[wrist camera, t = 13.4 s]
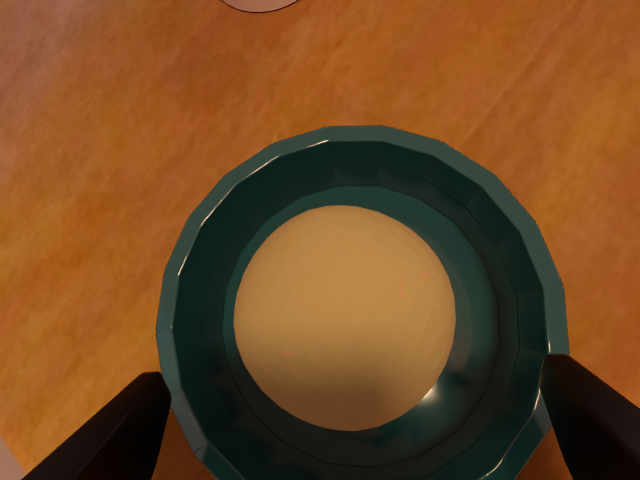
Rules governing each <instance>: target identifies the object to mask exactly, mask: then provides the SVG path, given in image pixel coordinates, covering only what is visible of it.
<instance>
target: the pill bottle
mask: <svg viewBox="0 0 640 480" xmlns="http://www.w3.org/2000/svg"><path fill="white" fill-rule="evenodd" d="M223 1H224V2H225V3H227V4H228V5H230V6H232V7H234V8H237V9H240V10H244V11H249V12H264V11H272V10H275V9H279V8H282V7H285V6H287V5H289V4H291V3H293V2H295V1H297V0H223Z"/></svg>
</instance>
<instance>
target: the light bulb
mask: <svg viewBox="0 0 640 480" xmlns="http://www.w3.org/2000/svg"><path fill="white" fill-rule="evenodd" d="M455 323H456V315H455V299H454V294H453V290H452V287H451V284H450V280H449V277H448V275H447V273H446V271H445V269H444V267H443V266H442V264H441V262H440V260H439V258H438V257H437V255H436V254H435V253H434V251H433V250H432V249H431V248H430V246H429V245H428V244H427V243H426V242H425V241H424V240H423V239H422V238H421V237H419V236H418V235H417V234H416V233H415V232H414V231H412V230H411V229H409V228H408V227H407V226H405V225H404V224H402V223H400V222H399V221H397V220H395V219H393V218H391V217H389V216H386V215H384V214H382V213H380V212H377V211H374V210H370V209H366V208H362V207H358V206H347V205H336V206H324V207H319V208H315V209H311V210H307V211H305V212H303V213H301V214H299V215H297V216H295V217H293V218H291V219H290V220H288V221H287V222H285V223H284V224H283V225H281V226H280V227H278V228H277V229H276V230H275V231H274V232H273V233H272V234H271V235H270V236H269V237H268V238H267V239H266V240H265V241H264V242H263V244H262V245H261V246H260V248H259V249H258V250H257V251H256V253H255V254H254V255H253V257H252V259H251V261H250V263H249V265H248V266H247V268H246V270H245V272H244V274H243V277H242V280H241V283H240V286H239V289H238V292H237V296H236V302H235V308H234V331H235V338H236V344H237V347H238V350H239V352H240V355H241V357H242V360H243V363H244V365H245V367H246V368H247V370H248V371H249V373H250V375H251V376H252V378H253V379H254V381H255V382H256V383H257V384H258V386H259V387H260V388H261V390H262V391H263V392H264V393H265V394H266V395H267V396H268V397H270V398H271V399H272V400H273V401H274V402H275V403H276V404H277V405H278V406H280V407H281V408H282V409H284V410H286V411H287V412H289V413H290V414H292V415H294V416H295V417H297V418H299V419H301V420H303V421H306V422H308V423H311V424H314V425H317V426H320V427H323V428H328V429H334V430H344V431H359V430H364V429H369V428H375V427H379V426H381V425H383V424H385V423H388V422H390V421H392V420H394V419H396V418H398V417H400V416H402V415H403V414H404V413H406V412H407V411H409V410H410V409H412V408H413V407H414V406H415V405H416V404H418V403H419V402H420V401H421V400H422V398H423V397H424V396H425V395H426V394H427V393H428V392H429V390H430V389H431V388H432V387H433V386H434V384H435V383H436V381H437V379H438V377H439V376H440V374H441V372H442V370H443V369H444V367H445V365H446V362H447V359H448V356H449V353H450V350H451V347H452V344H453V339H454V331H455Z"/></svg>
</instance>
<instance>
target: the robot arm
mask: <svg viewBox="0 0 640 480" xmlns="http://www.w3.org/2000/svg"><path fill="white" fill-rule="evenodd" d="M539 387H540V391H541V394H542V397H543V400H544V403H545V405H546V408H547V411H548V414H549V417H550V420H551V423H552V426H553V429H554V432H555V435H556V438H557V441H558V444H559V447H560V449H561V452H562V455H563V457H564V460H565V462H566V465H567V467H568V469H569V472H570V474H571V476H572V478H573V480H640V408H638V407H637V406H636V405H634V404H633V403H632V402H630V401H629V400H628V399H626V398H625V397H624V396H622V395H621V394H620V393H618V392H617V391H616V390H614V389H613V388H612V387H610V386H609V385H608V384H606V383H605V382H604V381H602V380H601V379H600V378H598V377H597V376H596V375H594V374H593V373H592V372H590V371H589V370H588V369H586V368H585V367H584V366H582V365H581V364H580V363H578V362H577V361H576V360H574V359H573V358H572V357H570V356H569V355H566V354H547V355H546V356H545V357H544V359H543V363H542V367H541V371H540V375H539ZM171 400H172V396H171V392H170V389H169V387H168V385H167V383H166V382H165V380H164V378H163V376H162V374H161V373H160V372H144V373H142V374H140V375H139V376H138V377H137V378H136V379H134V380H133V381H132V382H131V383H130V384H129V385H128V386H127V387H125V388H124V389H123V390H122V391H121V392H120V393H119V394H117V395H116V396H115V397H114V398H113V399H112V400H111V401H110V402H108V403H107V404H106V405H105V406H104V407H103V408H102V409H101V410H99V411H98V412H97V413H96V414H95V415H94V416H93V417H91V418H90V419H89V420H88V421H87V422H86V423H85V424H84V425H82V426H81V427H80V428H79V429H78V430H77V431H76V432H75V433H73V434H72V435H71V436H70V437H69V438H68V439H67V440H65V441H64V442H63V443H62V444H61V445H60V446H59V447H58V448H56V449H55V450H54V451H53V452H52V453H51V454H50V455H49V456H47V457H46V458H45V459H44V460H43V461H42V462H41V463H40V464H38V465H37V466H36V467H35V468H34V469H33V470H32V471H30V472H29V473H28V474H27V475H26V476H25V477H24V478H23V479H21V480H151V479H152V476H153V473H154V469H155V466H156V463H157V459H158V455H159V451H160V447H161V443H162V439H163V435H164V430H165V426H166V422H167V418H168V414H169V410H170V405H171Z"/></svg>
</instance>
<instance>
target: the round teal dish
mask: <svg viewBox="0 0 640 480" xmlns="http://www.w3.org/2000/svg"><path fill="white" fill-rule="evenodd" d="M336 205H347V206H358V207H362V208H366V209H370V210H374V211H377V212H380V213H382V214H384V215H386V216H389V217H391V218H393V219H395V220H397V221H399V222H400V223H402V224H404V225H405V226H407V227H408V228H409V229H411V230H412V231H414V232H415V233H416V234H417V235H418V236H419V237H421V238H422V239H423V240H424V241H425V242H426V243H427V244H428V245H429V246H430V248H431V249H432V250H433V251H434V253H435V254H436V255H437V257H438V258H439V260H440V262H441V264H442V266H443V267H444V269H445V271H446V273H447V275H448V277H449V280H450V284H451V287H452V290H453V294H454V299H455V315H456V323H455V331H454V339H453V344H452V347H451V350H450V353H449V356H448V359H447V362H446V365H445V367H444V369H443V370H442V372H441V374H440V376H439V377H438V379H437V381H436V383H435V384H434V386H433V387H432V388H431V389H430V390H429V392H428V393H427V394H426V395H425V396H424V397H423V398H422V400H421V401H420V402H419V403H418V404H416V405H415V406H414V407H413V408H412V409H410V410H409V411H407V412H406V413H404V414H403V415H402V416H400V417H398V418H396V419H394V420H392V421H390V422H388V423H385V424H383V425H381V426H379V427H375V428H369V429H364V430H359V431H344V430H334V429H328V428H323V427H320V426H317V425H314V424H311V423H308V422H306V421H303V420H301V419H299V418H297V417H295V416H294V415H292V414H290V413H289V412H287V411H286V410H284V409H282V408H281V407H280V406H278V405H277V404H276V403H275V402H274V401H273V400H272V399H271V398H270V397H268V396H267V395H266V394H265V393H264V392H263V391H262V390H261V388H260V387H259V386H258V384H257V383H256V382H255V381H254V379H253V378H252V376H251V375H250V373H249V371H248V370H247V368H246V367H245V365H244V363H243V360H242V357H241V355H240V352H239V350H238V347H237V344H236V338H235V331H234V308H235V302H236V296H237V292H238V289H239V286H240V283H241V280H242V277H243V274H244V272H245V270H246V268H247V266H248V265H249V263H250V261H251V259H252V257H253V255H254V254H255V253H256V251H257V250H258V249H259V248H260V246H261V245H262V244H263V242H264V241H265V240H266V239H267V238H268V237H269V236H270V235H271V234H272V233H273V232H274V231H275V230H276V229H277V228H278V227H280V226H281V225H283V224H284V223H285V222H287V221H288V220H290V219H291V218H293V217H295V216H297V215H299V214H301V213H303V212H305V211H307V210H311V209H315V208H319V207H324V206H336ZM164 271H165V272H164V275H163V282H162V289H161V296H160V303H159V310H158V317H157V324H156V331H157V332H156V340H157V347H158V353H159V360H160V367H161V373H162V376H163V378H164V380H165V382H166V383H167V385H168V387H169V389H170V392H171V396H172V400H171V405H170V407H171V409H172V411H173V413H174V415H175V417H176V419H177V421H178V423H179V425H180V427H181V430H182V432H183V434H184V436H185V438H186V440H187V442H188V444H189V446H190V448H191V450H192V452H193V453H195V454H194V455H195V457H196V458H197V459H198V460H199V461H200V462H201V463H202V464H203V465H204V466H205V467H206V468H207V469H208V470H209V471H210V472H211V474H212V475H213V476H214V477H215V478H216V479H217V480H516V478H517V477H518V475H519V474H520V472H521V471H522V469H523V468H524V467H525V465H526V464H527V462H528V461H529V459H530V458H531V456H532V455H533V454H534V452H535V451H536V449H537V448H538V446H539V445H540V443H541V442H542V441H543V439H544V438H545V436H546V435H547V433H548V432H549V430H550V429H551V427H550V426H552V423H551V420H550V417H549V414H548V411H547V408H546V405H545V403H544V400H543V397H542V394H541V391H540V387H539V375H540V371H541V367H542V363H543V359H544V357H545V356H546V355H547V354H566V355H569V354H570V352H569V340H568V329H567V317H566V306H565V294H564V287H563V283H562V280H561V278H560V276H559V273H558V271H557V269H556V266H555V264H554V262H553V259H552V257H551V255H550V252H549V250H548V248H547V246H546V243H545V241H544V239H543V236H542V234H541V232H540V229H539V227H538V225H537V224H536V221H535V220H534V219H533V218H532V217H531V215H530V214H529V213H528V212H527V211H526V210H525V208H524V207H523V206H522V205H521V204H520V203H519V202H518V200H517V199H516V198H515V197H514V196H513V195H512V193H511V192H510V191H509V190H508V189H507V188H506V187H505V185H504V184H503V183H502V182H501V181H500V180H499V178H498V177H497V176H496V175H494V174H493V173H492V172H491V171H489V170H487V169H486V168H484V167H483V166H481V165H479V164H478V163H476V162H475V161H473V160H471V159H470V158H468V157H467V156H465V155H463V154H462V153H460V152H459V151H457V150H455V149H454V148H452V147H451V146H449V145H447V144H446V143H444V142H441V141H439V140H436V139H432V138H428V137H425V136H421V135H417V134H414V133H410V132H407V131H403V130H399V129H396V128H392V127H388V126H383V125H370V126H328V127H327V128H326V127H323V128H320V129H317V130H313V131H310V132H307V133H304V134H301V135H297V136H294V137H291V138H288V139H285V140H281V141H278V142H275V143H273V144H271V145H269V146H268V147H266V148H265V149H263V150H262V151H260V152H259V153H257V154H256V155H254V156H252V157H251V158H249V159H248V160H246V161H245V162H243V163H242V164H240V165H239V166H237V167H236V168H234V169H233V170H231V171H230V172H228V173H227V174H226V175H224V176H223V177H222V179H221V180H220V181H219V182H218V183H217V184H216V186H215V187H214V188H213V189H212V190H211V191H210V193H209V194H208V195H207V196H206V197H205V198H204V200H203V201H202V202H201V203H200V204H199V205H198V207H197V208H196V209H195V210H194V211H193V212H192V214H191V215H190V216H189V219H187V221H186V223H185V226H184V228H183V230H182V232H181V234H180V237H179V239H178V241H177V243H176V245H175V248H174V250H173V252H172V254H171V256H170V259H169V261H168V263H167V265H166V268H165V270H164Z"/></svg>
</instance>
